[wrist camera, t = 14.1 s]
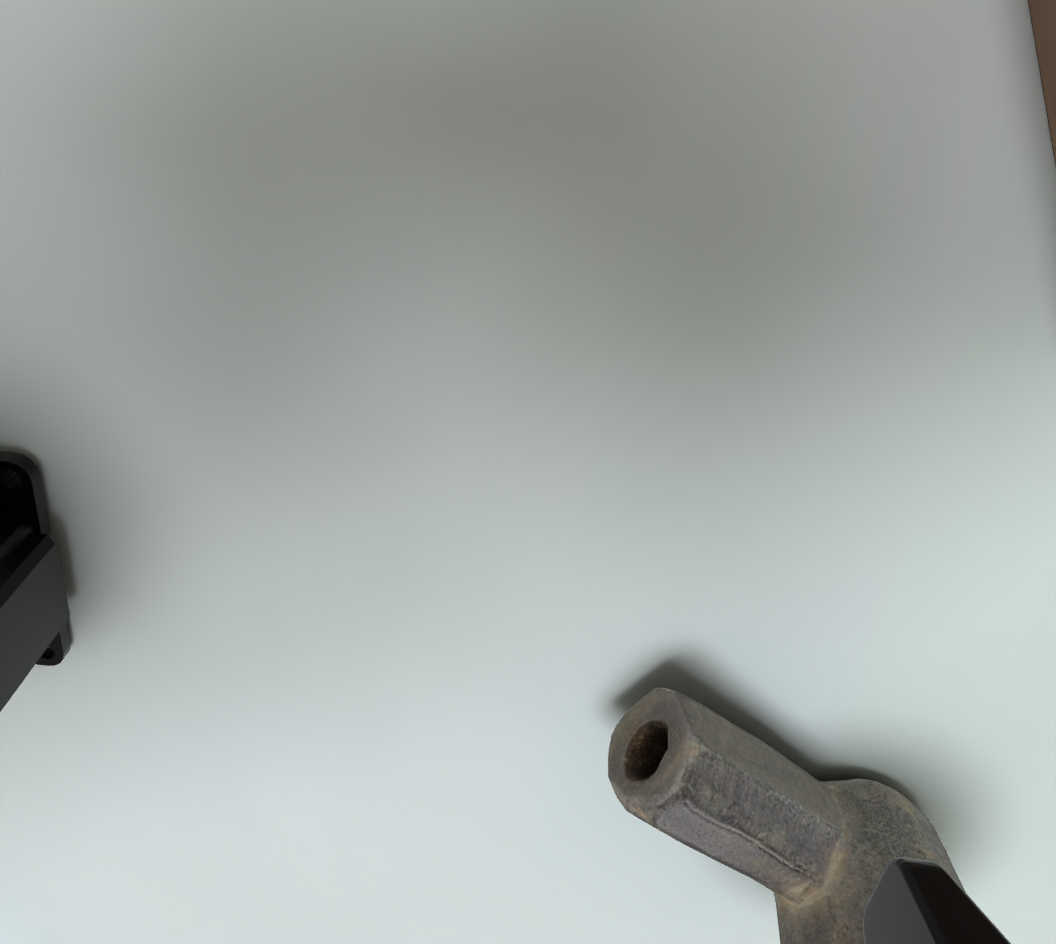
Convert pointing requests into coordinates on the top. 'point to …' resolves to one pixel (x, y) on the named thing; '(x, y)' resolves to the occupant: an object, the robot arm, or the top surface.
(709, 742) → the pipe
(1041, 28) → the housing
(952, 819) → the top surface
